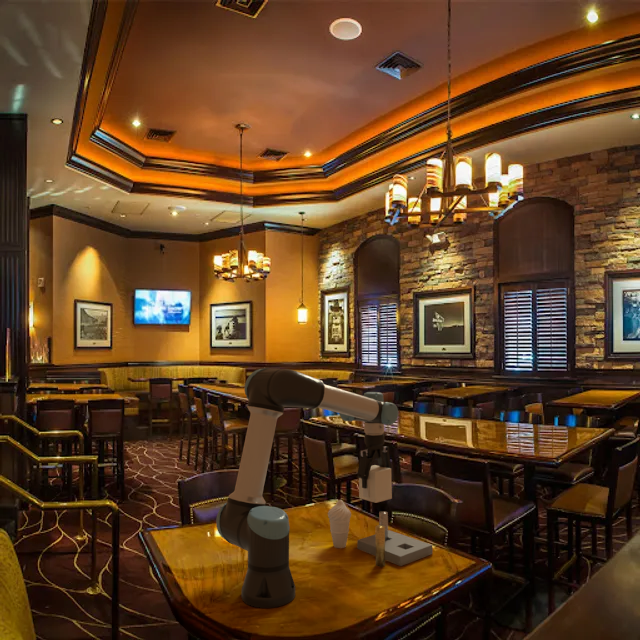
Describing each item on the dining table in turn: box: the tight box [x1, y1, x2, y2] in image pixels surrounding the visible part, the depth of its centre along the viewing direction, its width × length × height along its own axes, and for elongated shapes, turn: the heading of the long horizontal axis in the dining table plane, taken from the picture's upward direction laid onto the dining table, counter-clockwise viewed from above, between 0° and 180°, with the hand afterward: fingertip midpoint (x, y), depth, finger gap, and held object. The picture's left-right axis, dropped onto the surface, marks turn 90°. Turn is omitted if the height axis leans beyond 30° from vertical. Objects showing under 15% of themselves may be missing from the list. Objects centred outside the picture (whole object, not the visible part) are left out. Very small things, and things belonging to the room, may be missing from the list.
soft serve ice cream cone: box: [327, 499, 352, 549], centre depth 190 cm, size 8×8×16 cm
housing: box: [358, 464, 393, 503], centre depth 201 cm, size 9×9×11 cm
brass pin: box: [374, 524, 386, 568], centre depth 173 cm, size 3×3×12 cm
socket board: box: [356, 529, 434, 567], centre depth 184 cm, size 16×20×3 cm
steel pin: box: [378, 510, 389, 541], centre depth 188 cm, size 3×3×12 cm
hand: (375, 494), depth 201 cm, fingers closed on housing, 9 cm apart
